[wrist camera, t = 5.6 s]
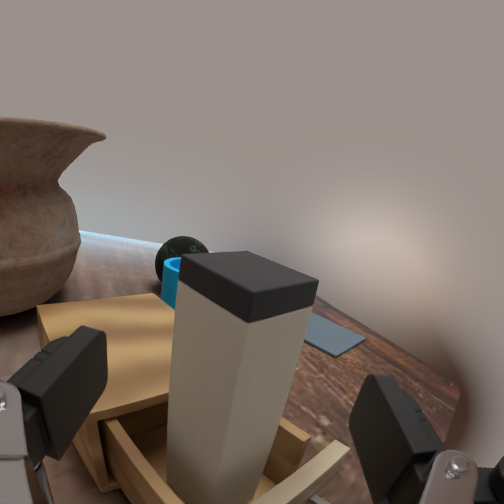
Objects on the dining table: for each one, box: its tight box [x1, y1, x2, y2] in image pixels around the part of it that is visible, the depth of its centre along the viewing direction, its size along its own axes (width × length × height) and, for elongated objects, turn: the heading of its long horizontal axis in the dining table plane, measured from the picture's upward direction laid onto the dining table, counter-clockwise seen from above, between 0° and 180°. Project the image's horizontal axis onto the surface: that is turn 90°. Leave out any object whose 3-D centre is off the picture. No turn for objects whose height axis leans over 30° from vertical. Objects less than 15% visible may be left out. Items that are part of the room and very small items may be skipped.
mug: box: [160, 257, 181, 310], centre depth 47 cm, size 12×8×8 cm
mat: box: [304, 312, 366, 358], centre depth 50 cm, size 12×10×1 cm
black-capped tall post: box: [166, 251, 319, 504], centre depth 15 cm, size 4×4×16 cm
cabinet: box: [36, 293, 175, 493], centre depth 24 cm, size 15×13×9 cm
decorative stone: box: [155, 236, 209, 283], centre depth 57 cm, size 10×10×10 cm
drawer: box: [97, 401, 350, 504], centre depth 16 cm, size 18×11×7 cm, turn 45°
